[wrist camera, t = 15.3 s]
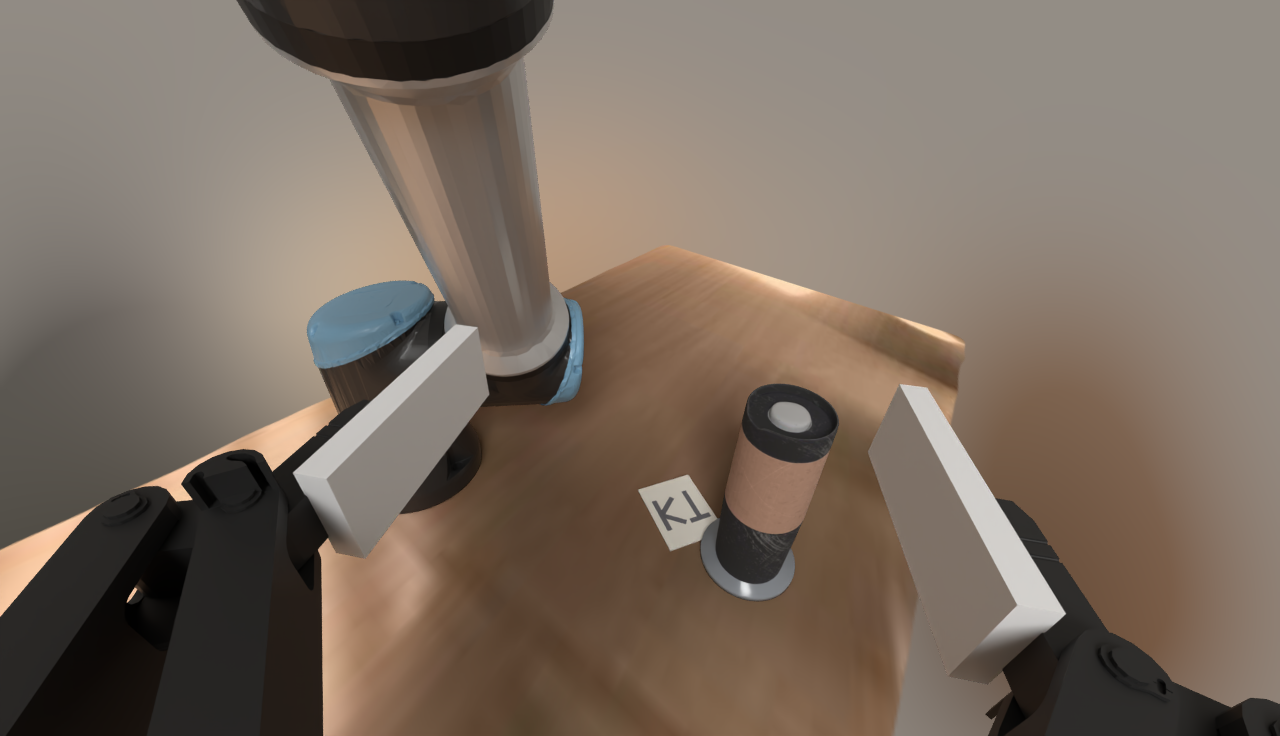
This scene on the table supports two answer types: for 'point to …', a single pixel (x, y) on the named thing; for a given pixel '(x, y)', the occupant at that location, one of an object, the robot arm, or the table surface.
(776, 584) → the slate coaster
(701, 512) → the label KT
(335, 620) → the table surface
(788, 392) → the travel mug
